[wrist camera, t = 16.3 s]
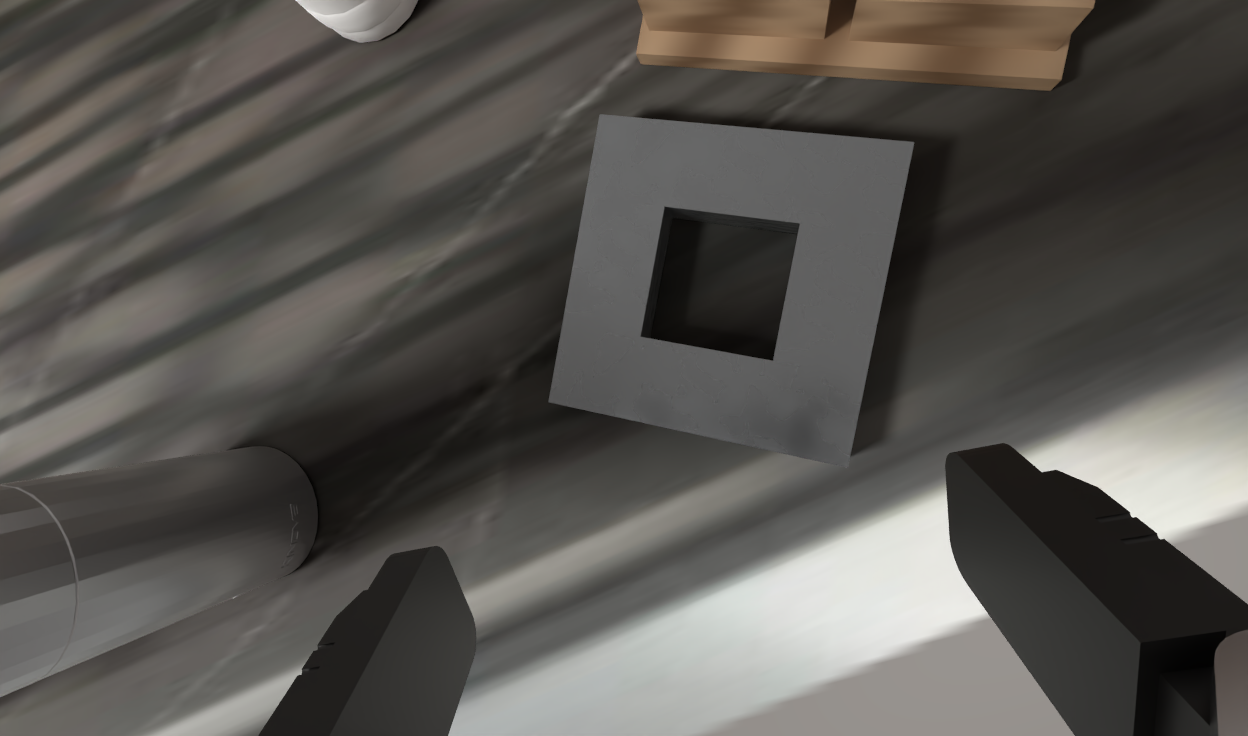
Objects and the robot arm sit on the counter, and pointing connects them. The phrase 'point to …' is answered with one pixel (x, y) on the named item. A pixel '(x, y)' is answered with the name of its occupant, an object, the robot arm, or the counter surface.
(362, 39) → the bottle
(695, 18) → the rack
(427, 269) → the counter surface
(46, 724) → the counter surface
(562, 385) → the socket block
